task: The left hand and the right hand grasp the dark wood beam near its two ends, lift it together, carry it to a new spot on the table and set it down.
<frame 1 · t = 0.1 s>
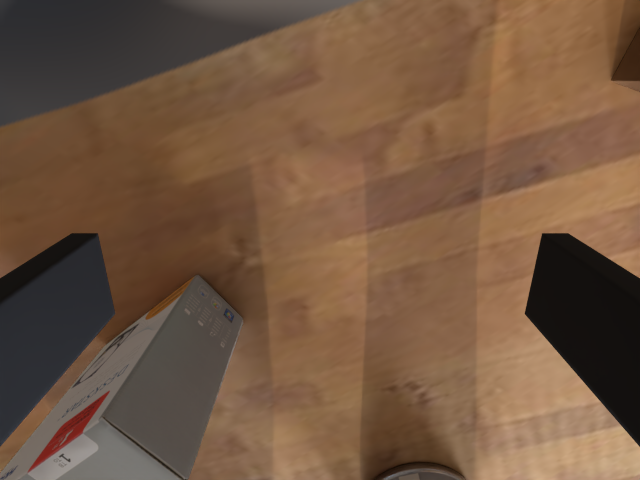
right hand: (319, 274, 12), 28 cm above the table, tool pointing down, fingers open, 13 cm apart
hard drive box: (173, 331, 46), on the table
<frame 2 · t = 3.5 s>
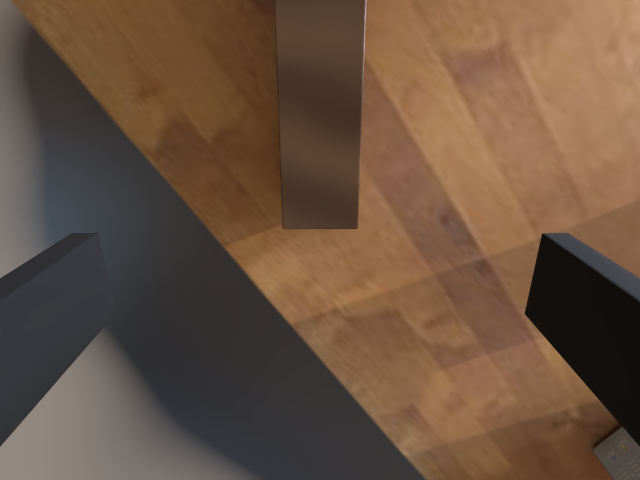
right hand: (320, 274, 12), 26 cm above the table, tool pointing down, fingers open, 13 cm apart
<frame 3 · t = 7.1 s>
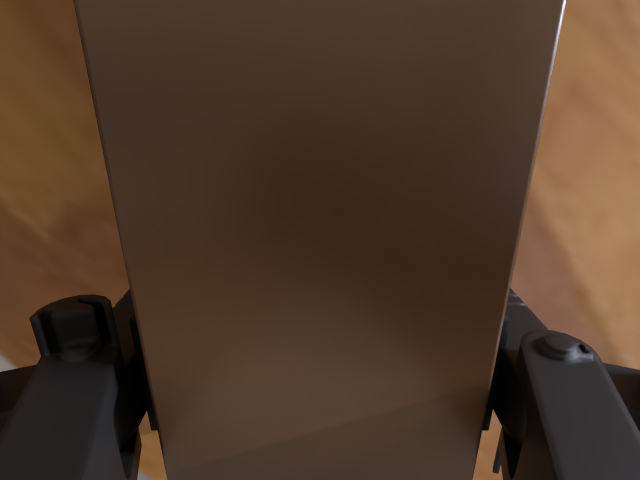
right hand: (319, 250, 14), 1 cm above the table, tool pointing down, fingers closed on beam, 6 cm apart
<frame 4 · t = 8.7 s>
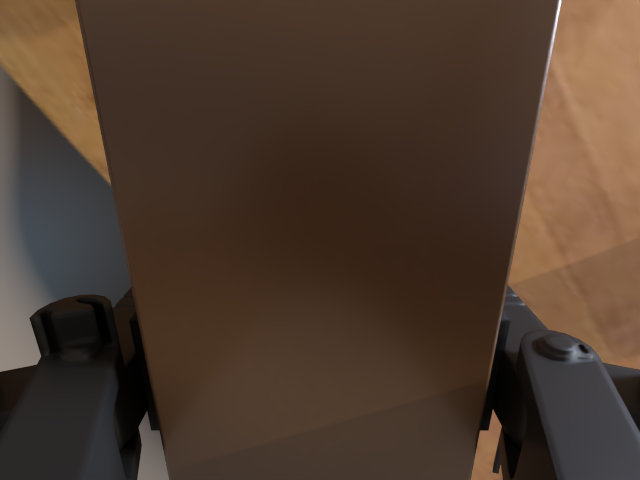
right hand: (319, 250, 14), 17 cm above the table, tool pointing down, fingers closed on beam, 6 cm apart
when the right hand's fingers open (2 cm above the table, at t = 13.6 s): beam stays where it is, held by the left hand.
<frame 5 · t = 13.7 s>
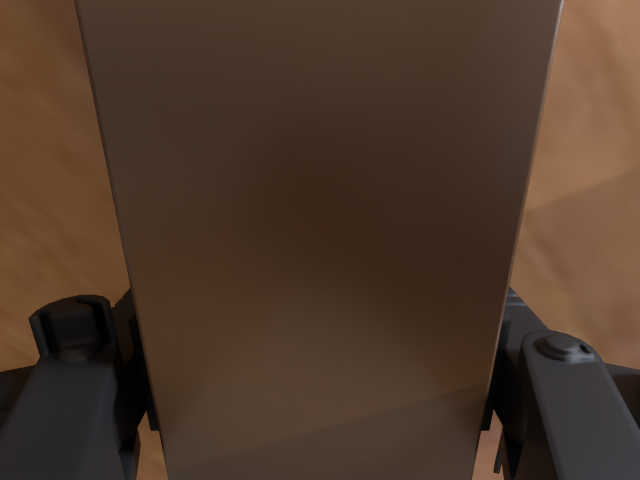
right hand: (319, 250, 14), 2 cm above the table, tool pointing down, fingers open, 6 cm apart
when the left hand's fingers open (4 cm above the table, at t = 13.9 s): beam stays where it is, on the table.
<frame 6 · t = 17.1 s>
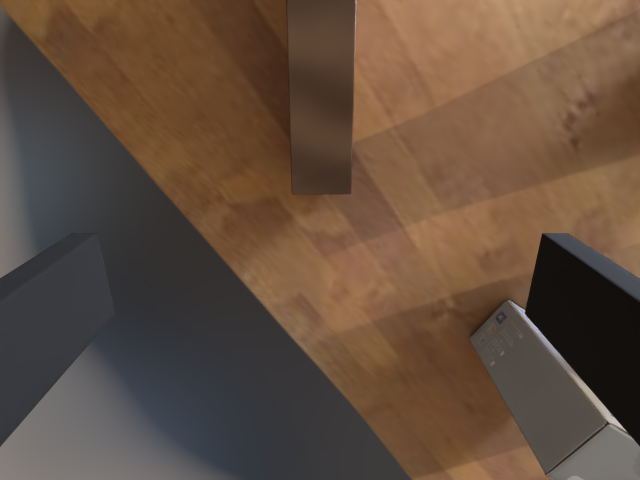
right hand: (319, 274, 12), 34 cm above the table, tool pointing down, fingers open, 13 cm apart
hard drive box: (528, 345, 55), on the table
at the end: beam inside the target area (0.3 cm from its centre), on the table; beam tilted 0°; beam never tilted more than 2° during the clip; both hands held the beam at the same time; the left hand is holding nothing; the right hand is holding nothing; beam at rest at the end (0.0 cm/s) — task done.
